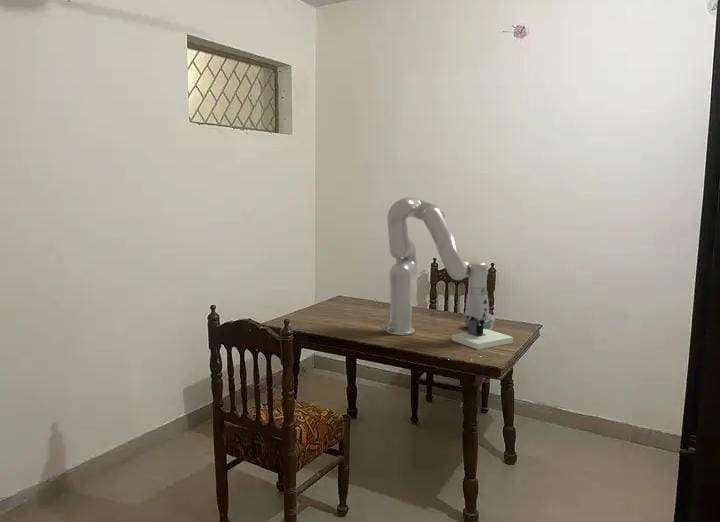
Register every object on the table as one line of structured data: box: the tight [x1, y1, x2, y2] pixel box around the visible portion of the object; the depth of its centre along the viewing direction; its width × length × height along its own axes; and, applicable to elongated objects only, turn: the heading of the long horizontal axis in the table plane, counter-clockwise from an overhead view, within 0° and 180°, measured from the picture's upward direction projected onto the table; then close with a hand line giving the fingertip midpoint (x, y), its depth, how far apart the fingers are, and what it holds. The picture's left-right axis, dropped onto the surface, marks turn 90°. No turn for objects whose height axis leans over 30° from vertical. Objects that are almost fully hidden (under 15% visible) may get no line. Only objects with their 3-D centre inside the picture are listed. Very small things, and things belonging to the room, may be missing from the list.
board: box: [451, 329, 514, 350], centre depth 235 cm, size 20×16×2 cm
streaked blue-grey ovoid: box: [465, 313, 496, 330], centre depth 255 cm, size 14×10×10 cm
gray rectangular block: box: [467, 319, 482, 337], centre depth 237 cm, size 4×4×8 cm
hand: (475, 332), depth 238 cm, fingers closed on gray rectangular block, 4 cm apart
